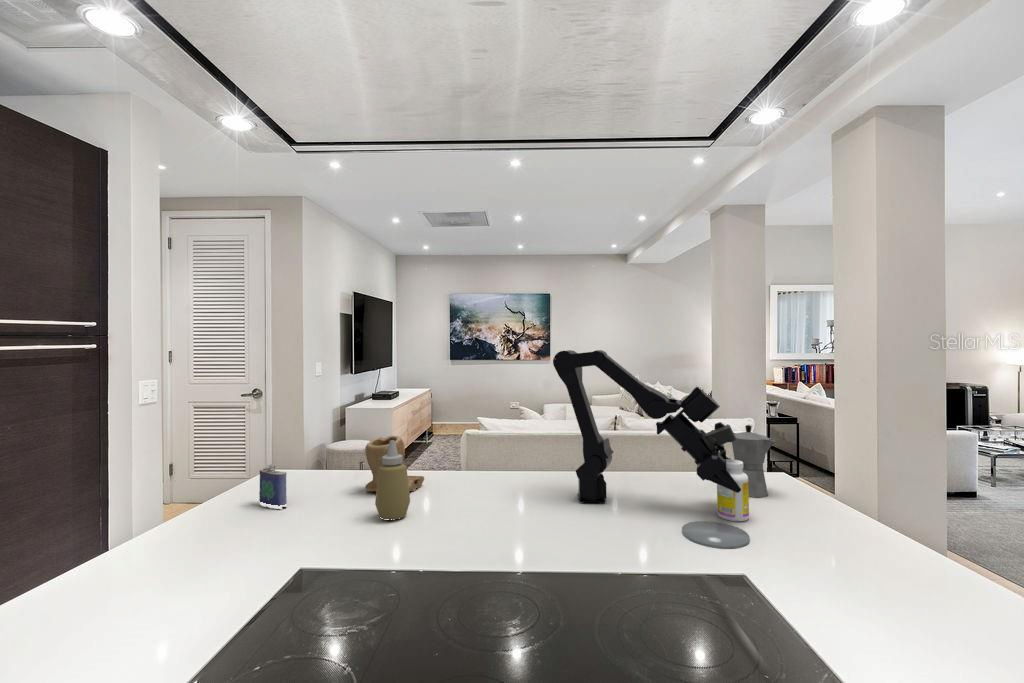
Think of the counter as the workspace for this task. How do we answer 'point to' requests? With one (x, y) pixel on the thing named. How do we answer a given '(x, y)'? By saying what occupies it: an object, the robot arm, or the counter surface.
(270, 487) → the flask
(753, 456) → the coffeepot
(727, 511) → the supplement bottle
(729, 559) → the counter surface
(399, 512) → the squeeze bottle
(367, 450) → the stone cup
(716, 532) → the slate trivet
